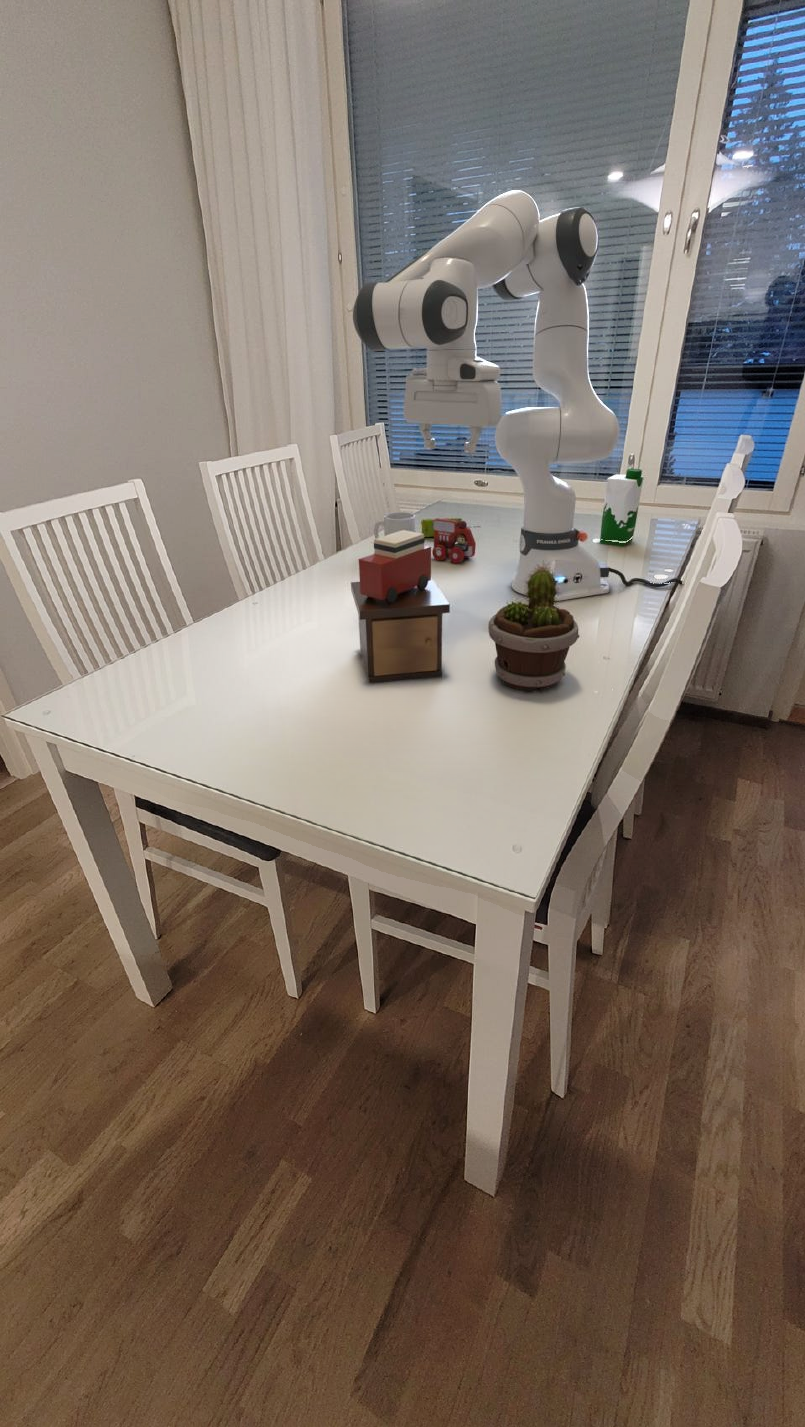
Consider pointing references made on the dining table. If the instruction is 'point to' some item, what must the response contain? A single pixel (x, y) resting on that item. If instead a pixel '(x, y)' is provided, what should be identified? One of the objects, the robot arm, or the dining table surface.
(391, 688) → the dining table surface
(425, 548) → the car
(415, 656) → the cabinet
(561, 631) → the flowerpot
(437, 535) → the toy fire truck
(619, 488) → the milk carton
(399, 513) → the mug
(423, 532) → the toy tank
